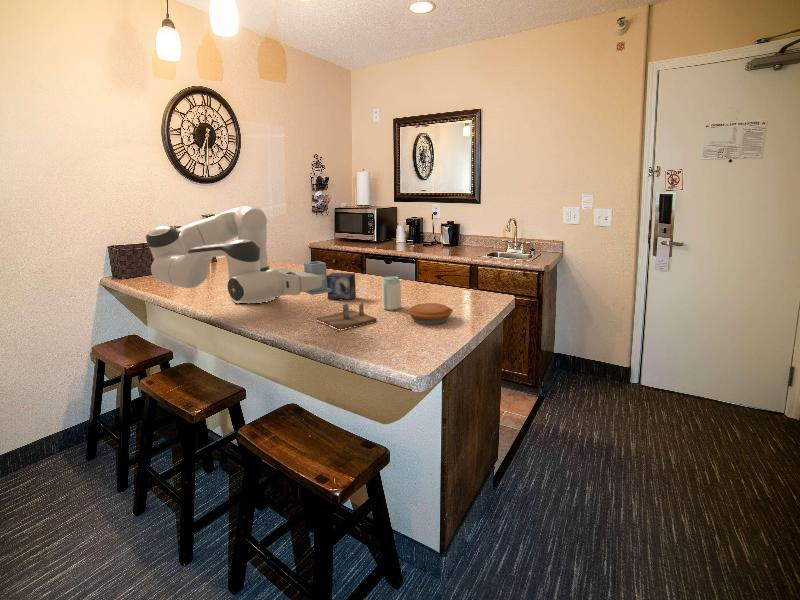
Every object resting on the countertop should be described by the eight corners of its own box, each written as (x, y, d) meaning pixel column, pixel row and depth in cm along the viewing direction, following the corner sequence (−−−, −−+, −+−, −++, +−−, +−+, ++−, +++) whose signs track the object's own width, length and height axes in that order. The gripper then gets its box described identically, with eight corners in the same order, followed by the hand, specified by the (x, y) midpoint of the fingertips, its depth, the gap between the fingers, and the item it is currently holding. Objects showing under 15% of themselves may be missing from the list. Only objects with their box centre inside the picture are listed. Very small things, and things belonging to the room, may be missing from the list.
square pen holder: (301, 291, 155) (299, 262, 152) (321, 287, 159) (319, 260, 156) (312, 295, 149) (310, 265, 146) (331, 291, 153) (330, 263, 151)
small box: (327, 300, 188) (325, 275, 185) (333, 296, 194) (332, 272, 191) (350, 301, 185) (349, 276, 182) (356, 297, 191) (355, 273, 188)
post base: (316, 321, 158) (315, 304, 156) (352, 313, 167) (351, 296, 166) (340, 331, 147) (338, 312, 145) (376, 321, 156) (376, 304, 155)
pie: (449, 313, 164) (449, 300, 163) (455, 326, 149) (455, 311, 148) (406, 314, 164) (406, 301, 163) (409, 328, 149) (408, 313, 148)
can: (390, 305, 177) (389, 275, 174) (404, 307, 173) (404, 277, 170) (378, 309, 172) (377, 278, 169) (392, 312, 167) (391, 280, 164)
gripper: (266, 286, 152) (302, 279, 161) (298, 296, 138) (335, 288, 147) (265, 267, 151) (301, 262, 160) (297, 275, 136) (334, 269, 145)
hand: (318, 275), depth 153 cm, fingers closed on square pen holder, 6 cm apart
